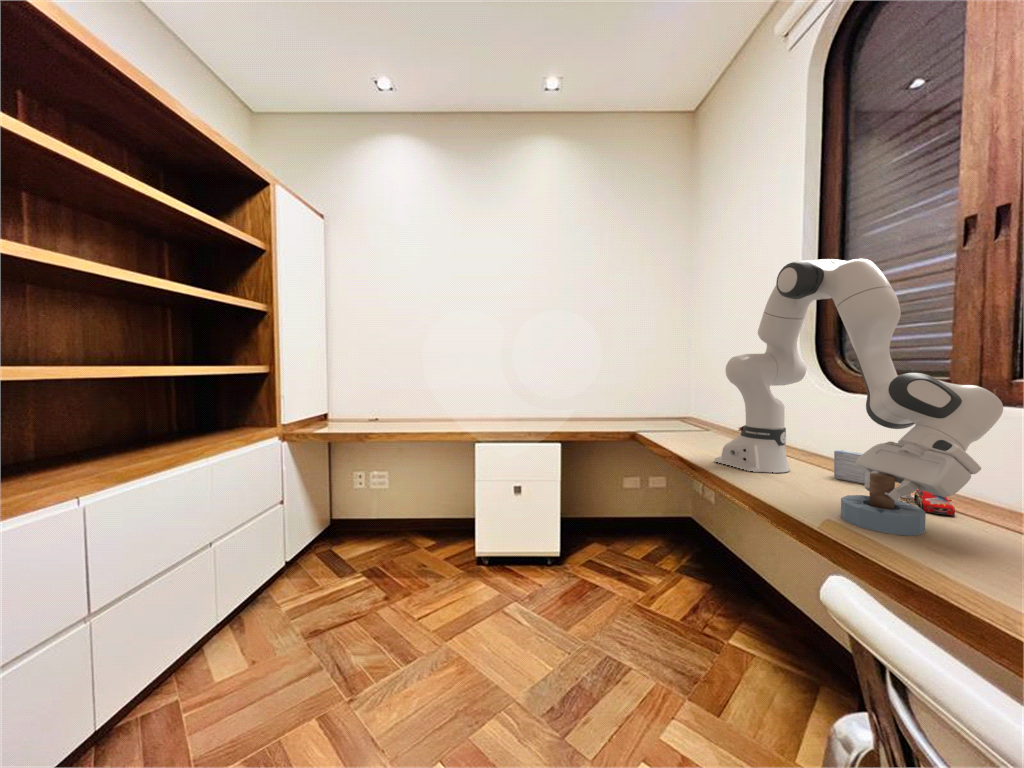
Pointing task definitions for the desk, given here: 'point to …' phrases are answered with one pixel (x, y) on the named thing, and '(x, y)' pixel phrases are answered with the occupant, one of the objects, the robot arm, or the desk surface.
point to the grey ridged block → (849, 466)
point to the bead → (883, 516)
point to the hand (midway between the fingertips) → (878, 493)
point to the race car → (934, 503)
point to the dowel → (881, 491)
